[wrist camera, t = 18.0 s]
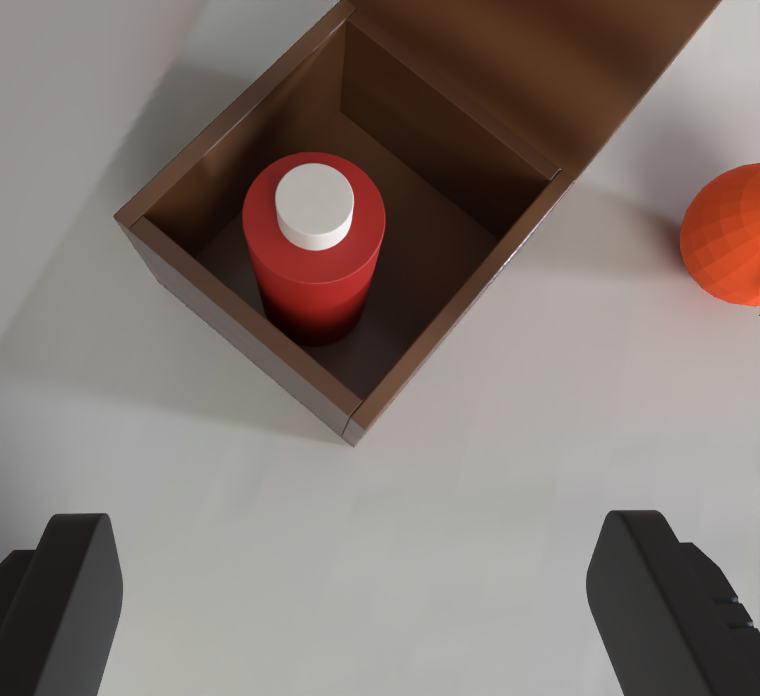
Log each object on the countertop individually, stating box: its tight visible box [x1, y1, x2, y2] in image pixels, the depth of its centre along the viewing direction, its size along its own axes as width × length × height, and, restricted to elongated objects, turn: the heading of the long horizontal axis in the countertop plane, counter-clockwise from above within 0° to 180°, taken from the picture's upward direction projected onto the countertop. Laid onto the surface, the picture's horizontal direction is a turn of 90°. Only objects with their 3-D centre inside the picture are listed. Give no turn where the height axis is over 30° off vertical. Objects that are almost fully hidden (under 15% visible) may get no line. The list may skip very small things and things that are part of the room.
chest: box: [114, 0, 575, 447], centre depth 30 cm, size 14×13×8 cm
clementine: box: [680, 163, 760, 316], centre depth 33 cm, size 8×7×7 cm
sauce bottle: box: [242, 152, 385, 347], centre depth 28 cm, size 5×5×11 cm
